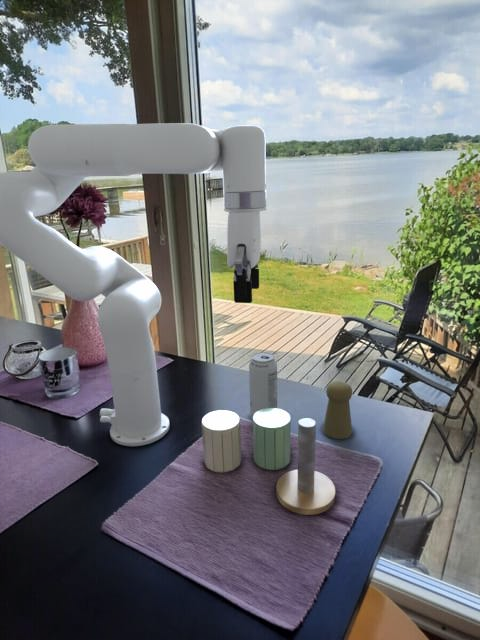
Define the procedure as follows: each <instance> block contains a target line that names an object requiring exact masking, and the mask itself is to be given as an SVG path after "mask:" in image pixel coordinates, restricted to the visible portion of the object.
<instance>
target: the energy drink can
mask: <svg viewBox="0 0 480 640" xmlns="http://www.w3.org/2000/svg"><path fill="white" fill-rule="evenodd" d="M248 370H249V371H248V375H249V376H248V378H249V379H248V380H249V381H248V382H249V383H248V384H249V414H250V418H251V419H252V420H253V416H254V414H255V413H256V412H257V411H259V410H261V409H265V408H278V362H277V361H276V359H275V355H274V354H272V353H270V352H265V351H261V352H256V353H254V354H252V355H251V359H250V361H249V363H248Z"/></svg>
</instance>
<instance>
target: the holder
mask: <svg viewBox="0 0 480 640" xmlns="http://www.w3.org/2000/svg"><path fill="white" fill-rule="evenodd" d="M297 423H298V425H297V426H298V427H297V469H292V470H290V471H287V472H286V473H284V474H282V475H281V476H280V477H279V478H278V480H277V483H276V487H275V490H276V491H275V493H276V497H277V500H278V501H279V503H280V504H281V505H282V506H283V507H284V508H285V509H287V510H288V511H290V512H293V513H295V514H299V515H303V516H305V515H307V516H313V515H318V514H322V513H325V512H327V511H328V510H329V509H331V507H333V505H334V503H335V501H336V492H337V491H336V486H335V484H334V482H333V480H331V478H329V477H328V476H327V475H326V474H324V473H322V472H320V471H317V470H316V468H315V467H316V437H317V435H316V434H317V433H316V432H317V422H316V421H315V419H313V418H310V417H303V418H301V419H299V420H298V422H297Z"/></svg>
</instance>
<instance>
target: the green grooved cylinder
mask: <svg viewBox="0 0 480 640" xmlns="http://www.w3.org/2000/svg"><path fill="white" fill-rule="evenodd" d="M291 419H292V418H291V414H290V413H289V412H287V411H286V410H284V409H282V408H279V407H277V408H265V409H261V410H259V411H257V412H256V413H255V414H254V416H253V419H252V446H253V447H252V452H253V455H252V457H253V458H252V459H253V461H254V463H255V464H256V466H258V467H260V468H261V469H264V470H268V471H269V470H271V471H277V470H281V469H284V468H286V467H287V466H288V465H289V464H290V463H291V456H292V455H291V453H292V451H291V449H292V447H291V445H292V444H291V443H292V440H291V439H292V438H291V437H292V436H291V435H292V429H291V428H292V420H291Z"/></svg>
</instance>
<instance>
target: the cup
mask: <svg viewBox="0 0 480 640" xmlns="http://www.w3.org/2000/svg"><path fill="white" fill-rule="evenodd" d="M201 435H202V437H201V438H202V449H203V463H204V465H205V467H206V468H207V469H208V470H210V471H212V472H214V473H227V472H231V471H234V470H235V469H237V468H238V467H239V466H240V465H241V462H242V437H241V435H242V434H241V419H240V416H239V415H238V414H237V413H236V412H234V411H231V410H226V409H218V410H213V411H210V412H208V413H207V414H205V415H204V416H203V417H202V419H201Z"/></svg>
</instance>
